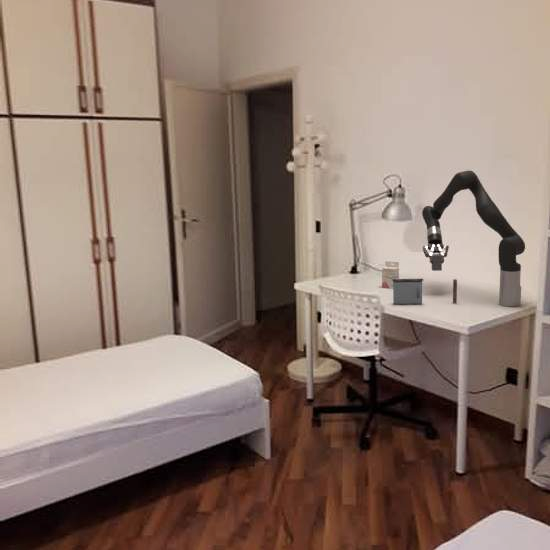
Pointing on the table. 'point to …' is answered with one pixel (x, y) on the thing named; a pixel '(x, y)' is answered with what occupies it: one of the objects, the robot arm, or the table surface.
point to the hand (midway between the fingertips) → (437, 262)
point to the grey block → (407, 292)
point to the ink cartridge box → (389, 274)
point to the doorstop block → (437, 262)
